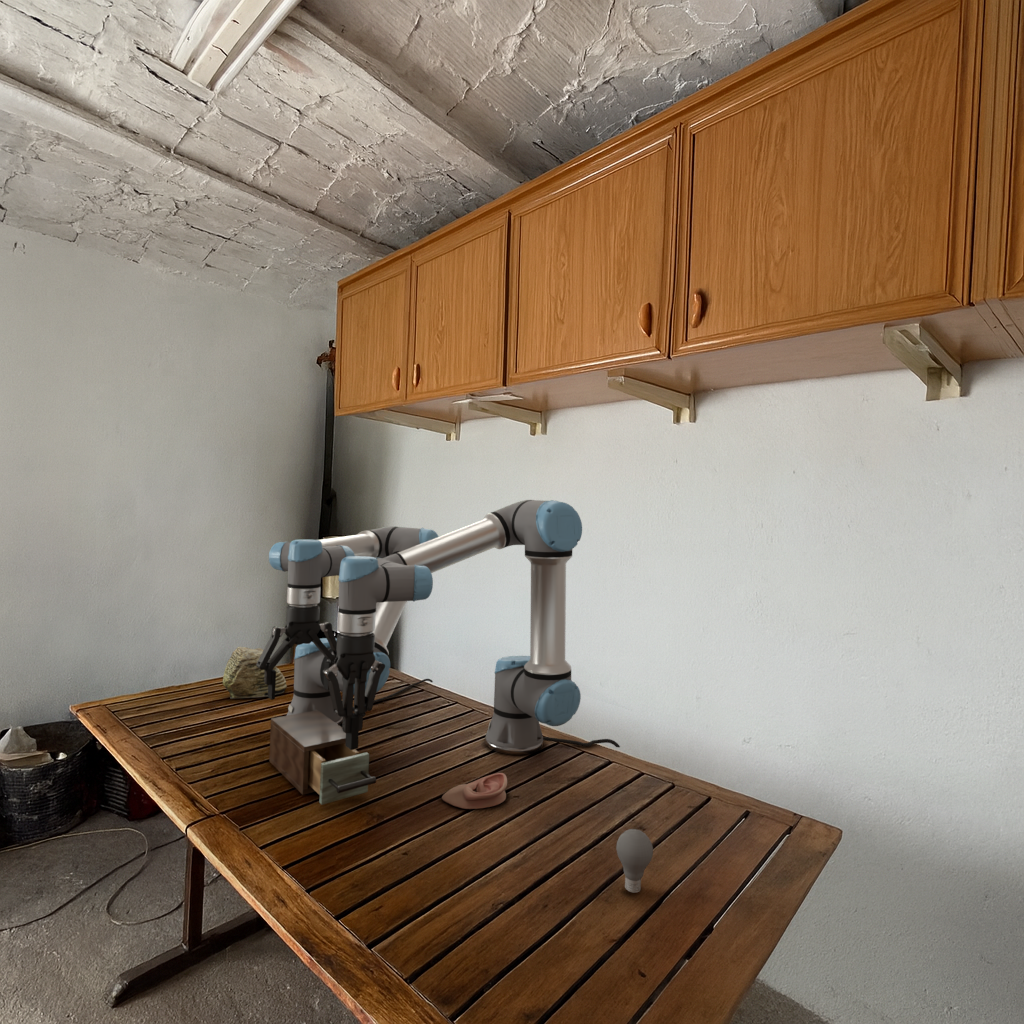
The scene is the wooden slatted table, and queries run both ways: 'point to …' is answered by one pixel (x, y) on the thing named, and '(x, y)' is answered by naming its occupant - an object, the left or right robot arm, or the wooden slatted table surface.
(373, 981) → the wooden slatted table surface
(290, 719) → the cabinet
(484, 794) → the anatomical model
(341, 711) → the right robot arm
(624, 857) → the light bulb
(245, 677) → the fossil
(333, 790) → the drawer
